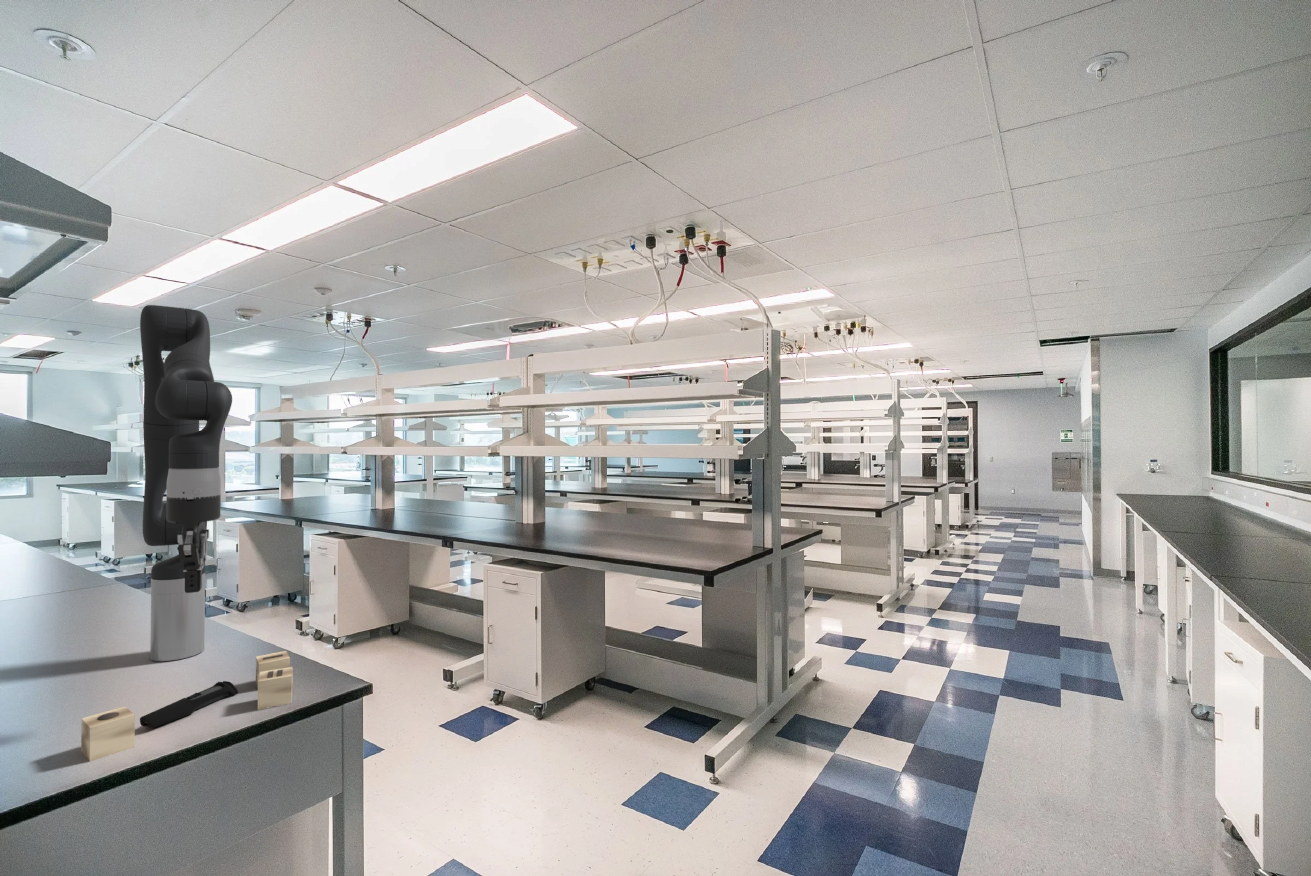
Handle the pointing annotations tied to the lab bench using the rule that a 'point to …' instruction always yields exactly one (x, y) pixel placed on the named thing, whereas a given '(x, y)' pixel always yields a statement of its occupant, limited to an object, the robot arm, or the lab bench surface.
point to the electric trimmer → (188, 704)
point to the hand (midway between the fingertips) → (193, 591)
